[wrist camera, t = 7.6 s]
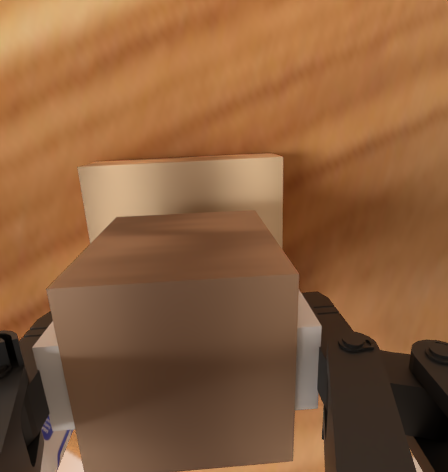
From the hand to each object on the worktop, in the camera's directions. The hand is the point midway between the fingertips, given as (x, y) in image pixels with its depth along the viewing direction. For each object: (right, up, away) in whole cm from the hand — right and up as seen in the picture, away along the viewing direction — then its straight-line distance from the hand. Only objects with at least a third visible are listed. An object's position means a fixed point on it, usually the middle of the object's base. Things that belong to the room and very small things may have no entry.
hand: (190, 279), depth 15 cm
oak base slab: (-1, +2, +6) cm, 6 cm away
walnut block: (0, 0, 0) cm, 0 cm away
